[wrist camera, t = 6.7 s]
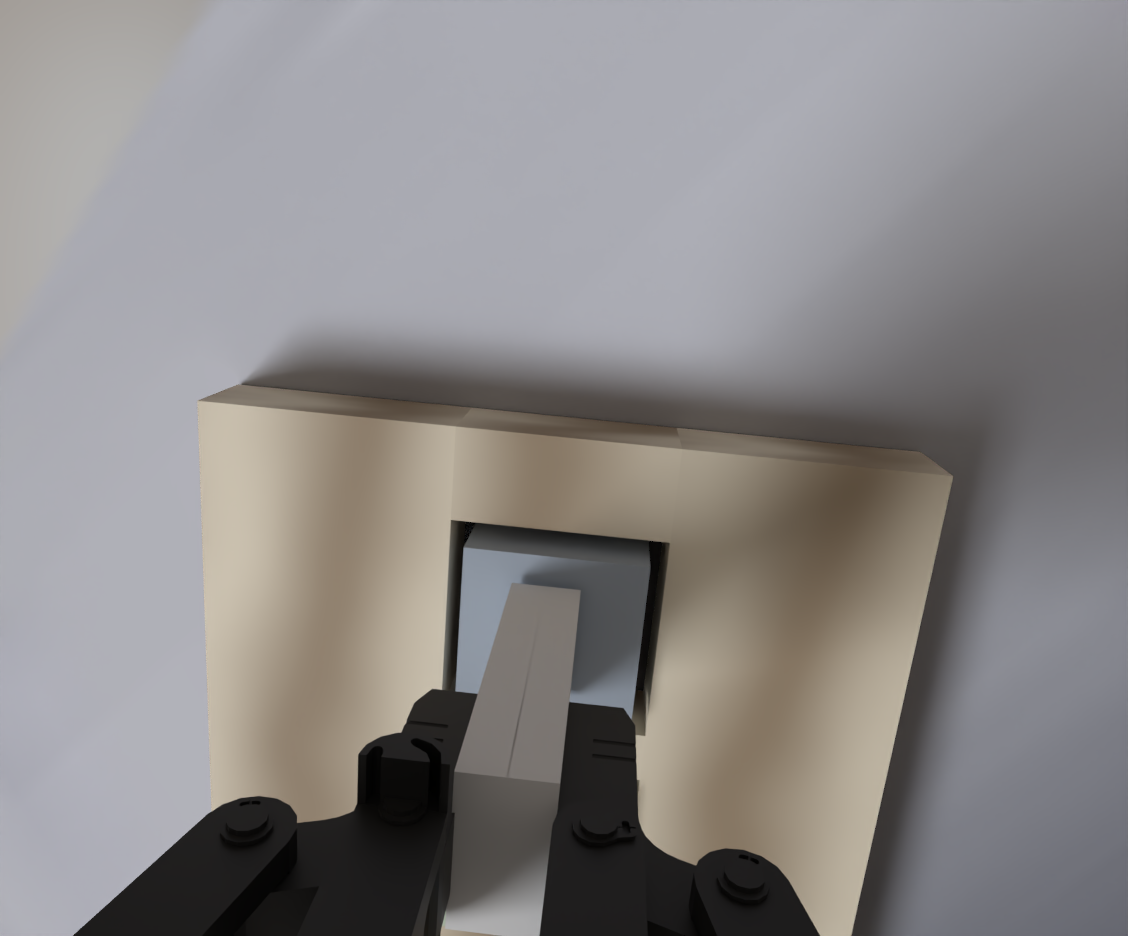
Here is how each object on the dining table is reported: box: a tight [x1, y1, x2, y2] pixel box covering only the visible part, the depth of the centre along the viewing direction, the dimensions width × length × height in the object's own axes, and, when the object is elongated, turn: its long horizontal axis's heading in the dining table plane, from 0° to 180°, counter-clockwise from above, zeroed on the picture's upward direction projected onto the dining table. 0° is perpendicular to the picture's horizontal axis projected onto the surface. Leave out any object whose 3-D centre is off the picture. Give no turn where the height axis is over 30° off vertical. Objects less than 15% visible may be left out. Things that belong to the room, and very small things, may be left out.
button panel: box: [198, 385, 953, 936], centre depth 22 cm, size 16×21×2 cm
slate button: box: [455, 523, 650, 720], centre depth 20 cm, size 4×4×2 cm
